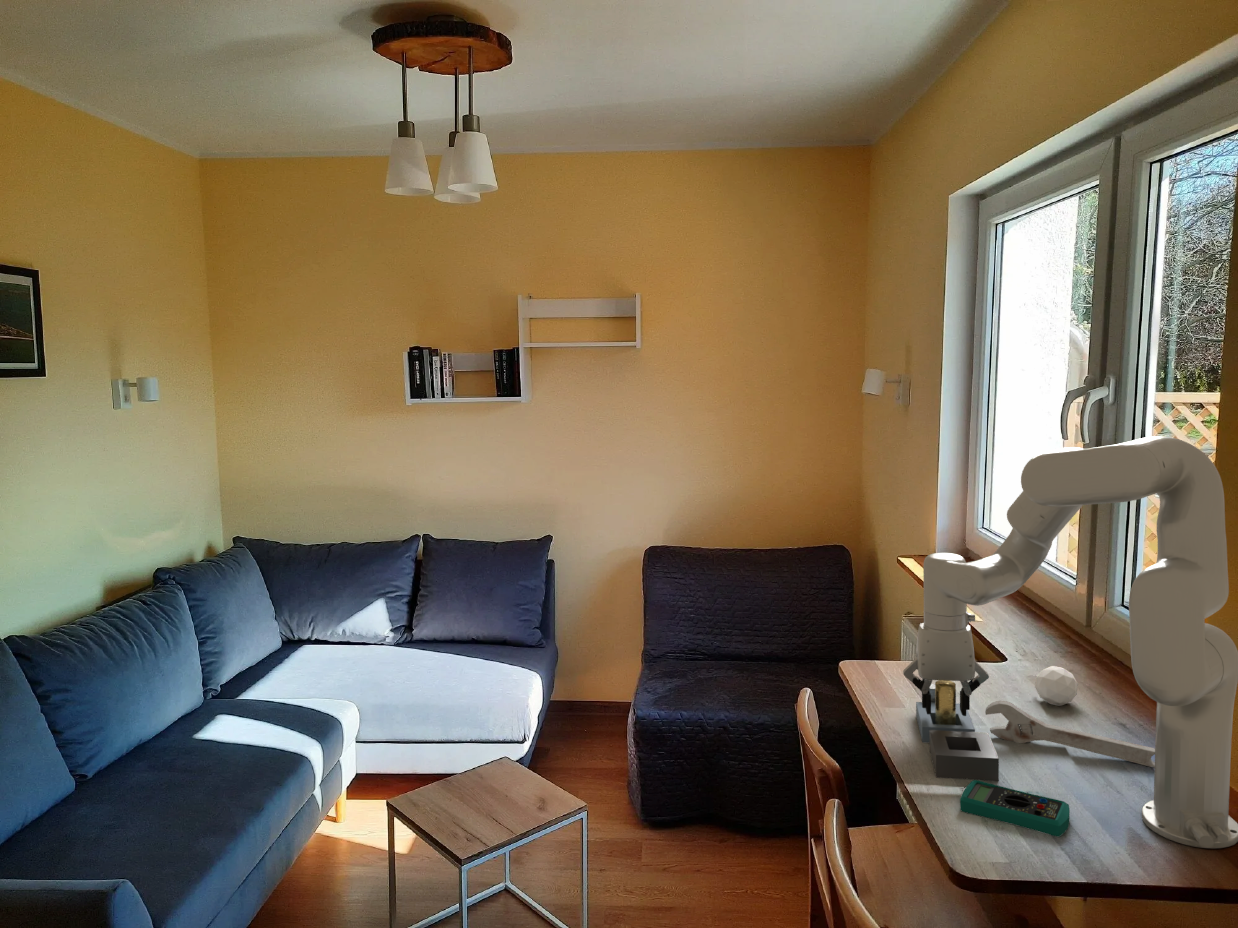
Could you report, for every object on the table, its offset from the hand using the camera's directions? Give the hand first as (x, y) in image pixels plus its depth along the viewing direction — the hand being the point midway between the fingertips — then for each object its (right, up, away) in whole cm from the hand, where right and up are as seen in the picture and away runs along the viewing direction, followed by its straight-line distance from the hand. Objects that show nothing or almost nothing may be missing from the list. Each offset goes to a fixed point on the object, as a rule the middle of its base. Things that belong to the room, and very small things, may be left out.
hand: (945, 711), depth 165 cm
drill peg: (0, -5, +1) cm, 5 cm away
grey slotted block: (-1, -7, -12) cm, 14 cm away
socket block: (+1, -5, +2) cm, 6 cm away
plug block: (+2, -4, +7) cm, 8 cm away
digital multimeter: (+1, -10, -26) cm, 28 cm away
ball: (+28, -3, +14) cm, 31 cm away
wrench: (+20, -6, -7) cm, 22 cm away
